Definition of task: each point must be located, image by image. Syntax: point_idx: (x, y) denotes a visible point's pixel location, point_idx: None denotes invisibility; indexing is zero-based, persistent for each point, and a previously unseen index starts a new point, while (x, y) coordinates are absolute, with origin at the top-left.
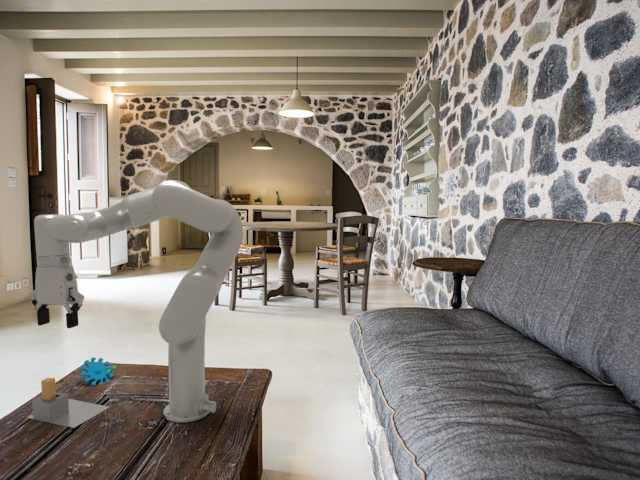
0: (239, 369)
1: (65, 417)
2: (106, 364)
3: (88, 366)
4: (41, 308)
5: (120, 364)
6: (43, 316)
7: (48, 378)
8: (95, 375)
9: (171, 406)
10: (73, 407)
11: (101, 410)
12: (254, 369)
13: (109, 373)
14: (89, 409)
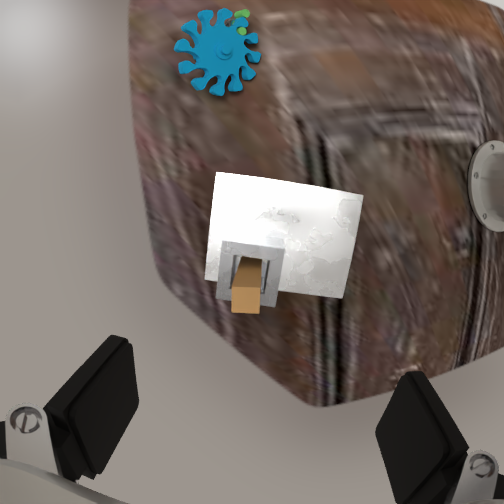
0: (480, 2)
1: (294, 264)
2: (227, 18)
3: (195, 54)
4: (77, 473)
5: None
6: (111, 420)
7: (239, 292)
8: (227, 65)
9: (498, 216)
10: (276, 215)
11: (355, 217)
12: (498, 9)
13: (248, 37)
14: (323, 217)
